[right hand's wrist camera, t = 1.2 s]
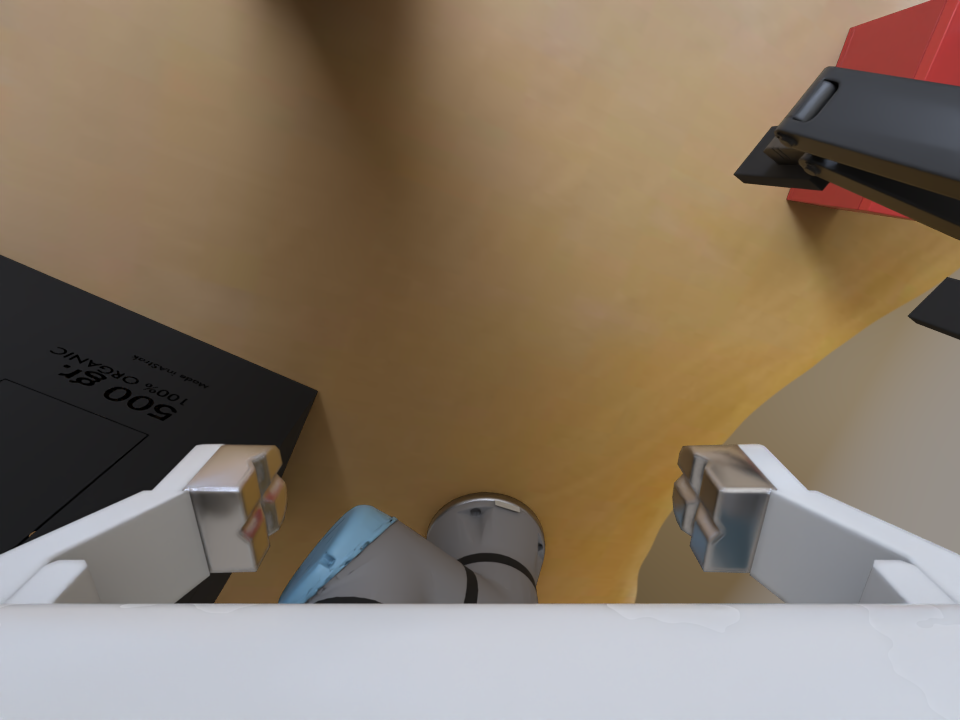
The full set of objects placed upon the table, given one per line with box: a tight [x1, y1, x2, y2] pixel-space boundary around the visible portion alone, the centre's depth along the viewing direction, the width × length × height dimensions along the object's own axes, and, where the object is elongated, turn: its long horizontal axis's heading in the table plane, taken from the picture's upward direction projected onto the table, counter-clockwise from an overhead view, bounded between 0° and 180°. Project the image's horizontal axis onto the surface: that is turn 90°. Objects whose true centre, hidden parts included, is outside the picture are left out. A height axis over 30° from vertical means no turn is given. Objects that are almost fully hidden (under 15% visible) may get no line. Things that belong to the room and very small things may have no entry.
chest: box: [787, 0, 947, 221], centre depth 44 cm, size 15×6×10 cm, turn 170°
